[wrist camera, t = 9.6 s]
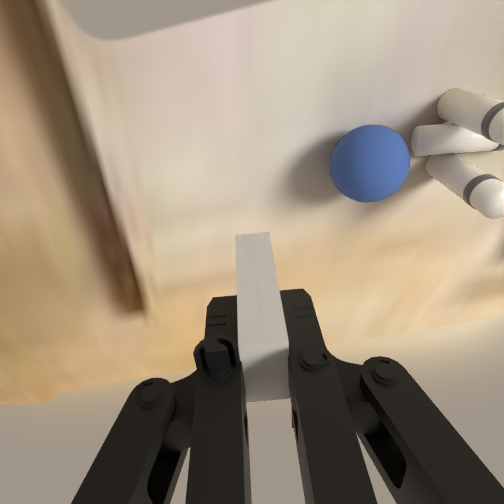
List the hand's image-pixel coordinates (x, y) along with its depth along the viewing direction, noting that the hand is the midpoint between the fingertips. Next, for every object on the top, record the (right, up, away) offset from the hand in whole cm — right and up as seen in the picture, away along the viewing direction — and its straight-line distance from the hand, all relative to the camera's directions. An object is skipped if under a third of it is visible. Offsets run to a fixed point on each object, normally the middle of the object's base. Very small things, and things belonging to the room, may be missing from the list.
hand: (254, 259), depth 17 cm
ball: (+9, +7, +12) cm, 17 cm away
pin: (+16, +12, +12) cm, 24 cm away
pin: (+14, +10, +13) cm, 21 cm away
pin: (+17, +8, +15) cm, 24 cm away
